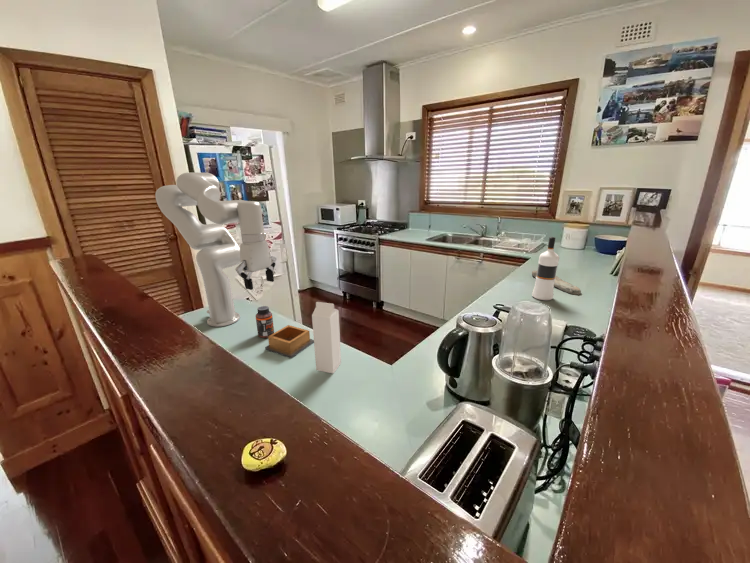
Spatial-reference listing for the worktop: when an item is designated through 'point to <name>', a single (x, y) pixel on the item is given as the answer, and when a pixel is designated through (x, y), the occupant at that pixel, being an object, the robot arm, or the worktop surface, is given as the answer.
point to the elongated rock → (563, 285)
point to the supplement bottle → (264, 322)
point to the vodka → (546, 273)
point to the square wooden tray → (289, 341)
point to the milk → (326, 337)
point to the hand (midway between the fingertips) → (260, 284)
